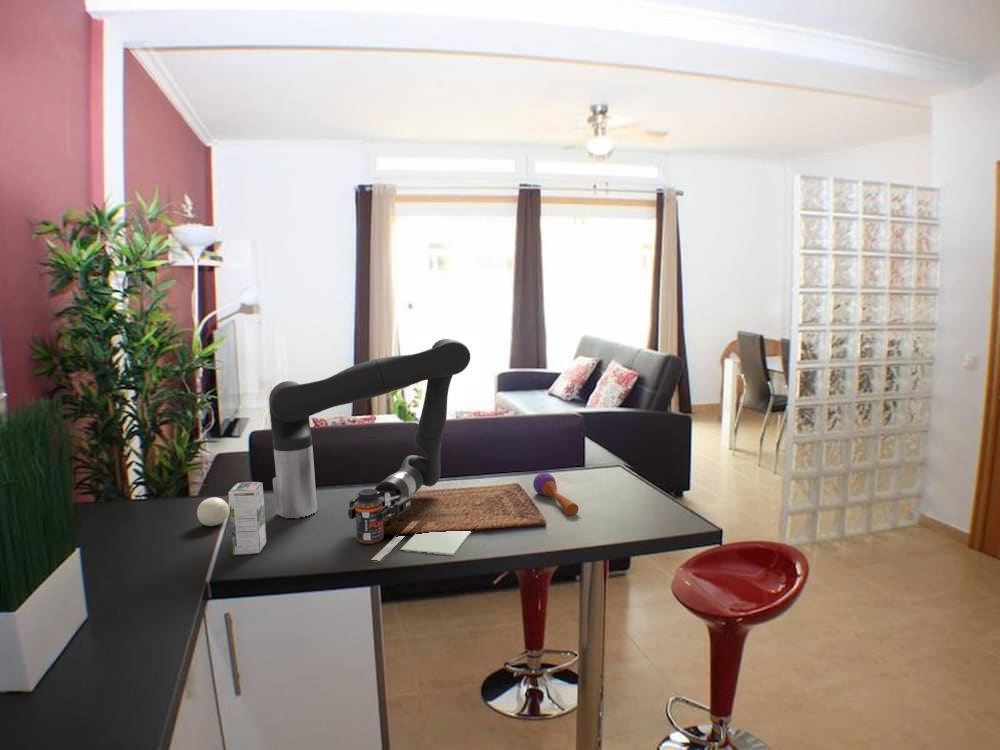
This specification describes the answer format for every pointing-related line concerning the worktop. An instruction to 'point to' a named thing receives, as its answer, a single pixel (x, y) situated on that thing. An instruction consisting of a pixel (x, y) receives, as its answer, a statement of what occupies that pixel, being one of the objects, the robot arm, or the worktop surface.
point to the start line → (388, 548)
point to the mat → (437, 542)
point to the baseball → (212, 511)
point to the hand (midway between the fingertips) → (364, 515)
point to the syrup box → (247, 518)
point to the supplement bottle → (368, 517)
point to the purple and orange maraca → (553, 492)
